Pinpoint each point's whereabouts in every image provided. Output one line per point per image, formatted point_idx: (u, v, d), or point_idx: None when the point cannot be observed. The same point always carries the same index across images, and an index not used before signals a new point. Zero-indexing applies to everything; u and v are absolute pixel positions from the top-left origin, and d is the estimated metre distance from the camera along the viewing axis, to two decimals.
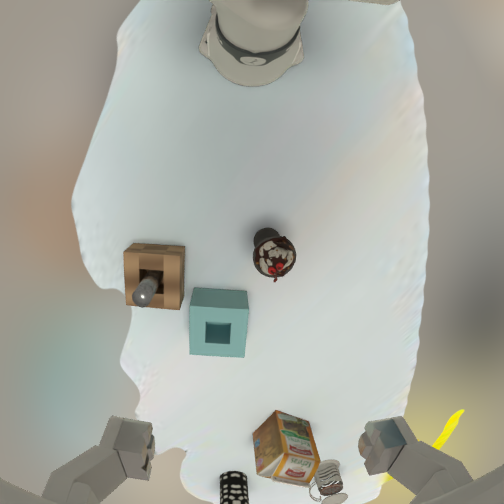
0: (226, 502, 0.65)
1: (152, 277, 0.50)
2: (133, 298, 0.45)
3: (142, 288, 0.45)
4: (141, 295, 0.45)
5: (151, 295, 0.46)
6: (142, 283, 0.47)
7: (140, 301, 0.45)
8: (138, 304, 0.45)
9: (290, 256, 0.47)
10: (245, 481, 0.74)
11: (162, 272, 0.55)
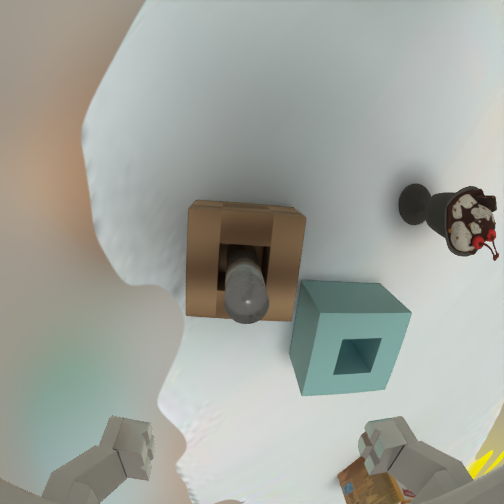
0: None
1: (251, 260, 0.26)
2: (228, 305, 0.21)
3: (251, 282, 0.21)
4: (249, 296, 0.21)
5: None
6: (241, 271, 0.23)
7: (245, 310, 0.21)
8: (238, 318, 0.21)
9: None
10: None
11: None
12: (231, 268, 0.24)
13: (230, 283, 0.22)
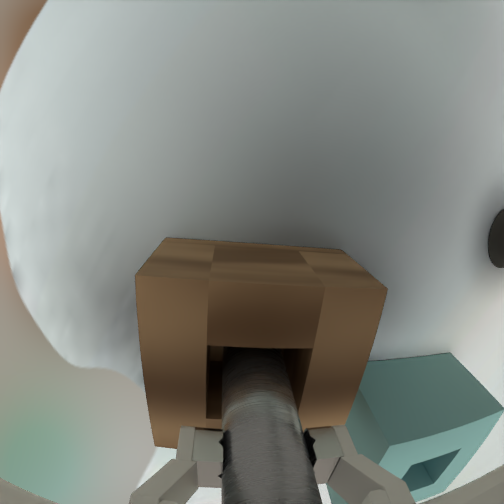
0: None
1: (277, 388, 0.11)
2: None
3: (289, 499, 0.06)
4: None
5: (319, 498, 0.07)
6: (259, 444, 0.08)
7: None
8: None
9: None
10: None
11: None
12: (234, 417, 0.10)
13: (234, 484, 0.07)
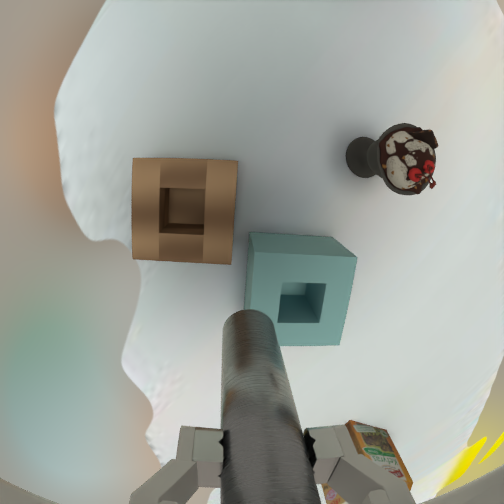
0: None
1: (276, 388, 0.11)
2: None
3: (288, 499, 0.06)
4: None
5: (318, 498, 0.07)
6: (258, 444, 0.08)
7: None
8: None
9: None
10: None
11: (277, 339, 0.16)
12: (233, 417, 0.10)
13: (233, 484, 0.07)
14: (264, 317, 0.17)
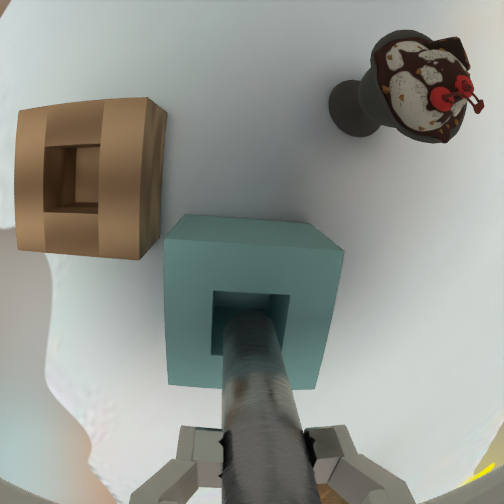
0: None
1: (277, 389, 0.11)
2: None
3: (289, 500, 0.06)
4: None
5: (319, 499, 0.07)
6: (259, 445, 0.08)
7: None
8: None
9: None
10: None
11: (277, 340, 0.16)
12: (234, 418, 0.10)
13: (234, 485, 0.07)
14: (265, 318, 0.17)
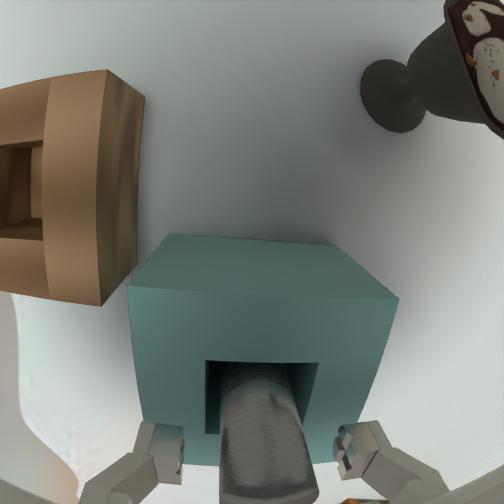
0: None
1: (273, 370, 0.12)
2: (227, 503, 0.07)
3: (283, 468, 0.07)
4: (277, 492, 0.07)
5: None
6: (255, 419, 0.09)
7: None
8: None
9: None
10: None
11: None
12: (232, 396, 0.11)
13: (231, 456, 0.08)
14: None
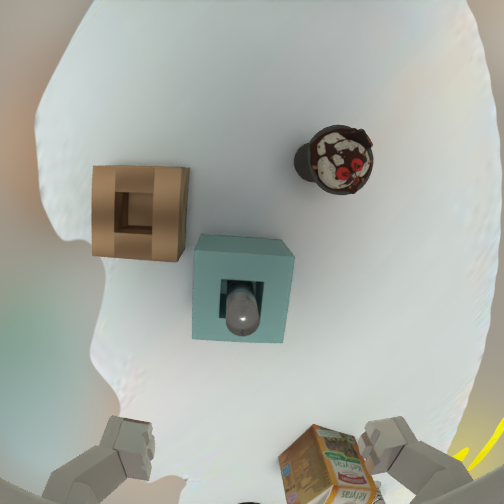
0: None
1: (247, 286, 0.32)
2: (228, 322, 0.27)
3: (246, 305, 0.27)
4: (245, 315, 0.27)
5: None
6: (238, 296, 0.29)
7: (241, 326, 0.27)
8: (236, 332, 0.28)
9: (367, 157, 0.26)
10: None
11: None
12: (231, 293, 0.31)
13: (230, 305, 0.28)
14: None
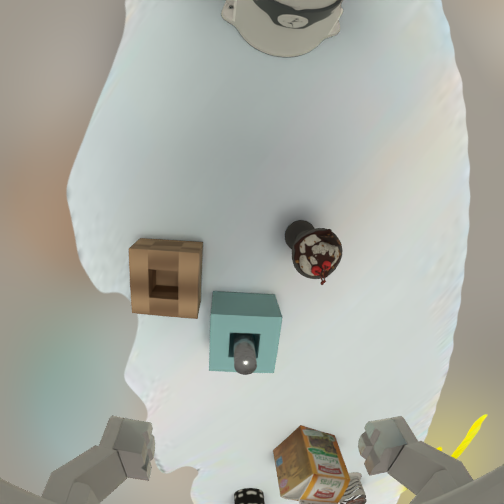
0: None
1: (248, 336, 0.44)
2: (236, 366, 0.39)
3: (248, 355, 0.39)
4: (247, 362, 0.39)
5: None
6: (242, 347, 0.41)
7: (244, 368, 0.40)
8: (241, 372, 0.40)
9: (336, 253, 0.38)
10: (262, 498, 0.66)
11: None
12: (237, 342, 0.43)
13: (237, 354, 0.40)
14: None
